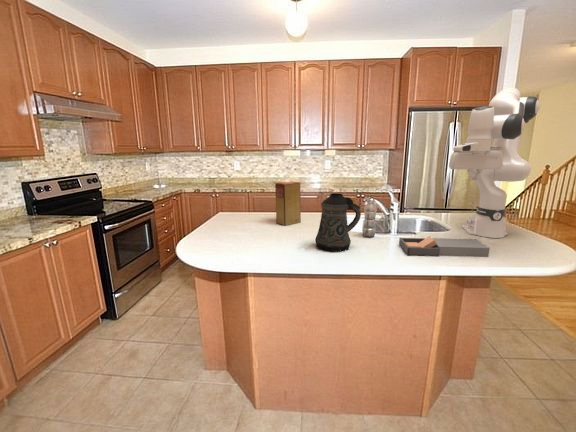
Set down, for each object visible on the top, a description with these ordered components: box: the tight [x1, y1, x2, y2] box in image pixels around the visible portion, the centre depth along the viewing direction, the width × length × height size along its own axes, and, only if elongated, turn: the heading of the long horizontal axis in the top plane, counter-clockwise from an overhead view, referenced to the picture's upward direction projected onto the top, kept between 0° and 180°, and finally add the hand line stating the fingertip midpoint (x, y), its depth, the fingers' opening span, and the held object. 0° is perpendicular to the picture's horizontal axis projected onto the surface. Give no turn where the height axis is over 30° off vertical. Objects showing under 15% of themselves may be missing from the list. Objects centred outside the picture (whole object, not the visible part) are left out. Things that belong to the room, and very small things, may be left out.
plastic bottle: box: [362, 197, 378, 237], centre depth 152 cm, size 6×7×20 cm
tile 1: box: [405, 242, 421, 247], centre depth 133 cm, size 6×6×2 cm
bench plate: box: [431, 237, 490, 258], centre depth 130 cm, size 12×20×4 cm, turn 84°
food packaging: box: [274, 181, 302, 227], centre depth 180 cm, size 13×9×25 cm
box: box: [398, 237, 440, 257], centre depth 132 cm, size 14×13×4 cm
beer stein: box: [315, 192, 362, 253], centre depth 137 cm, size 16×19×25 cm
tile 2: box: [418, 235, 437, 248], centre depth 131 cm, size 6×6×2 cm
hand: (473, 180), depth 127 cm, fingers closed
